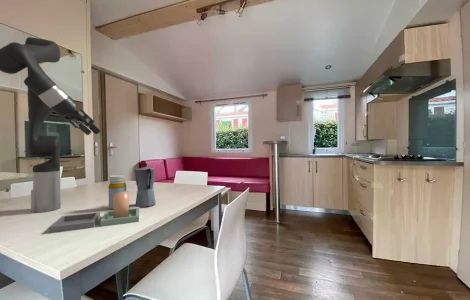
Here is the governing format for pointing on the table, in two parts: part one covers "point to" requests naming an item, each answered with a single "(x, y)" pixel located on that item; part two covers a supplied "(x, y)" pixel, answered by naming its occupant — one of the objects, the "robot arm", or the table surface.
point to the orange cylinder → (121, 204)
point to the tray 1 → (75, 222)
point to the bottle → (116, 187)
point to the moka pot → (145, 186)
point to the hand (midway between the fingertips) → (93, 133)
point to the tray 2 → (110, 220)
